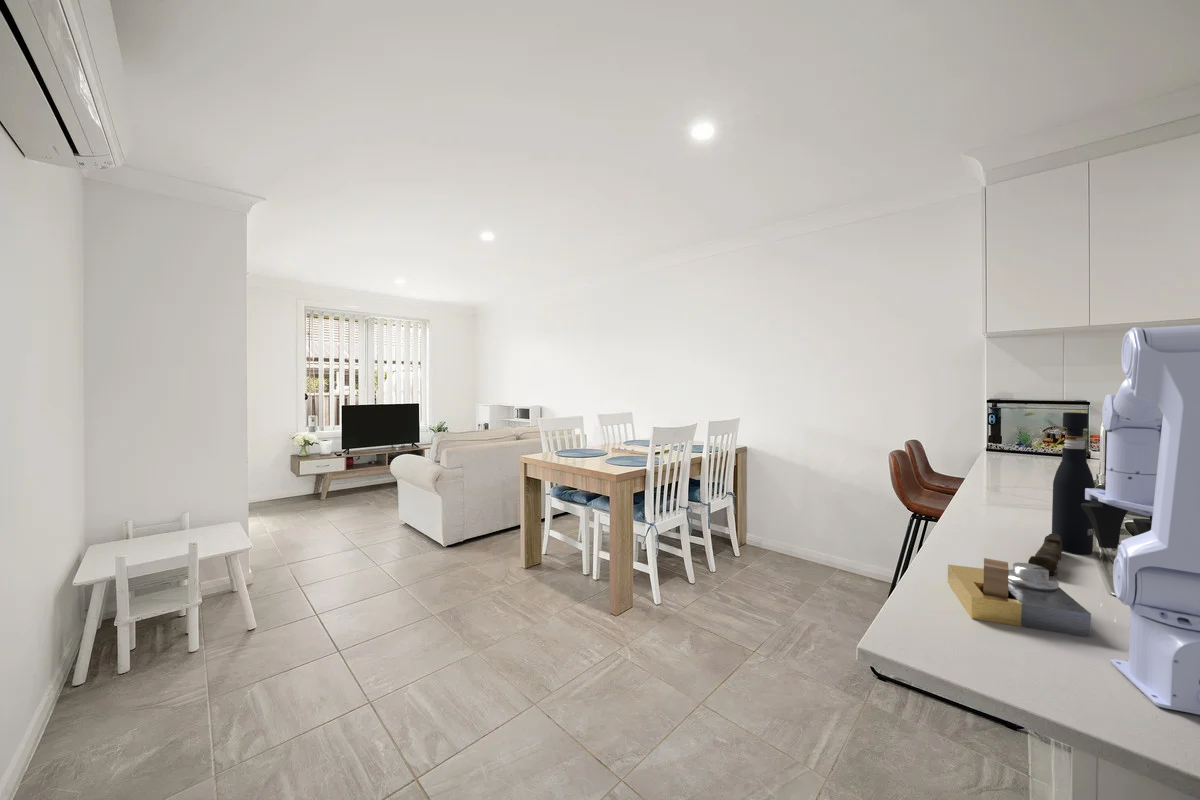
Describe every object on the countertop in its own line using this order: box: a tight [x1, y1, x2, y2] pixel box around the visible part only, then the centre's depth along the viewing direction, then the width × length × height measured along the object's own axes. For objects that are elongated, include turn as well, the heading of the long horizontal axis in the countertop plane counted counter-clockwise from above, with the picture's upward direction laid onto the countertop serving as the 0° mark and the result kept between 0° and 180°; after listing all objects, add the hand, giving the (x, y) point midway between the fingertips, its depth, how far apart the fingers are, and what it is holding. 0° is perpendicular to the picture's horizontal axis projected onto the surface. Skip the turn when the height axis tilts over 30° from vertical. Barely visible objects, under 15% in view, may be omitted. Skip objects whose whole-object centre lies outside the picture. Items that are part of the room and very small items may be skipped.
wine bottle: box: [1051, 411, 1096, 556], centre depth 102 cm, size 6×6×30 cm
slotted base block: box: [947, 562, 1092, 638], centre depth 77 cm, size 14×14×6 cm
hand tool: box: [1027, 533, 1063, 578], centre depth 95 cm, size 19×4×5 cm, turn 127°
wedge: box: [983, 557, 1010, 598], centre depth 76 cm, size 4×3×8 cm
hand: (1129, 556), depth 74 cm, fingers open, 7 cm apart
